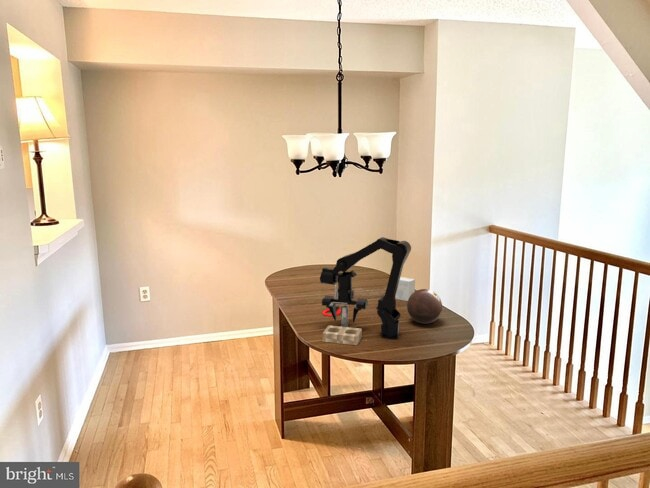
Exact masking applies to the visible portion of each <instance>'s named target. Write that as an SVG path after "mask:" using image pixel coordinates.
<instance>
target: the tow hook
mask: <svg viewBox="0 0 650 488" xmlns="http://www.w3.org/2000/svg"><path fill="white" fill-rule="evenodd" d="M334 299H338V284H335V286H334ZM329 312H330V310H329V308H326V309H324V310H323V311H322V315H323V316H324V317H328V318H329V317H330V318H333V316H332V313H329ZM338 316H341V308H340V306H339V304H336V317H338Z"/></svg>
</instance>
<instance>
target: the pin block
mask: <svg viewBox="0 0 650 488" xmlns="http://www.w3.org/2000/svg"><path fill="white" fill-rule="evenodd" d="M362 337H363V329H362V328H360V327H359V328H357V327H351V326H350V327H349V326H348V327H341V325H340V326H338V325H330V324H329V325H327V326H326V328H325V329H324V331H323V332H322V342H324V343H332V344H340V345H341V344H343V345H352V346H359V345H358V344H359V343H360V341H361V339H362Z"/></svg>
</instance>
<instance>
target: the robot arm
mask: <svg viewBox="0 0 650 488" xmlns="http://www.w3.org/2000/svg"><path fill="white" fill-rule="evenodd" d="M379 250H383V251H385V252H387V253H390V254H392V255H391V258H392V265H391V268H390V273H389V278H388V281H387V284H386V288H385V293H384V295H382V296H381V297H380V298H379V299H378V301H377V307H376V308H375V309H376V312H377V313H376V314H377V315H378V316H379V318H380V320H381V325H380V326H381V327H380V334H381V338H386V339H394V340H395V339H398V338H399V336H400V331H399V328H400V320H399V319H400V317H401V313H400V312H399V311H398V309H397V308H396V307H397V305H396V304H397V299H395V296H396V292H397V288H398V284H399V280H400V277H402V272H403V269H404V264H405V262H406V261H407V259H408V257H409V255H410V253H411V251H412V245H411V244H410V242H408V241H406V240H401V241H400V240H397V239H392V238H387V237H384V236H382V237H380V238H377V239H376V240H375V241H373V242H372V243H370V244H368V245H367V246H364V247H363V248H361V249H359V250H358V251H356V252H353V253H350V254H346V255H344V256H342V257H340V258H338V259H337V260H336V264H335V267H334V268H328V267H323V268H322V269H321V273H320V277H319V282H320V283H321V284H323V285H324V284H325V285H331V286H332V285H333V286H334V285H337V296H338V299H335V295H334V296H333V295H325V296H324V297H323V298H322V299H321V306H325V307H326V309H329V310H330V311H329V312H330V314H332V316H333V317H332V318H333V320H334V321H335V322H336V321H337V316H336V313H337V312H336V304H338V305H339V304H340V305H348V306H349V305H350V306H354V308H353V314H352V323H355V322H356V318H357V315H358V313H359V311H362V310H365V309H367V307H368V305H369V304H368V303H369V302H368V299H367V298H361V297H359V298H357V300H353V299H354V298H355V290H353V286H352V284H353V283H352V281H353V280H352V278H354V277H356V276H357V275H358V274H357V273H356V272H355V270H350V269H352V267H354V266H355V265H356V264H358V263H359V262H360V261H361V260H363V259H365V258H366V257H368V256H370V255H372V254H374V253H375V252H377V251H379ZM349 270H350V271H349Z"/></svg>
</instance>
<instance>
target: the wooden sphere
mask: <svg viewBox="0 0 650 488" xmlns="http://www.w3.org/2000/svg"><path fill="white" fill-rule="evenodd" d="M406 302H407V303H406V308H407V313H408V315H409V316H410V317H411V319H413V321H414V322H417V323H419V324H426V325H427V324H431V323H433V322H435V321H436V320H438V319H439V317H440V316H441V313H442V311H443V303H442V300H441V297H440V296H439V295H438V294H437V293H436V292H435V291H433V290H431V289H427V288H421V289H417V290H415V292H414V293H413V294H411V296H410V297H409V299H408V301H406Z"/></svg>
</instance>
